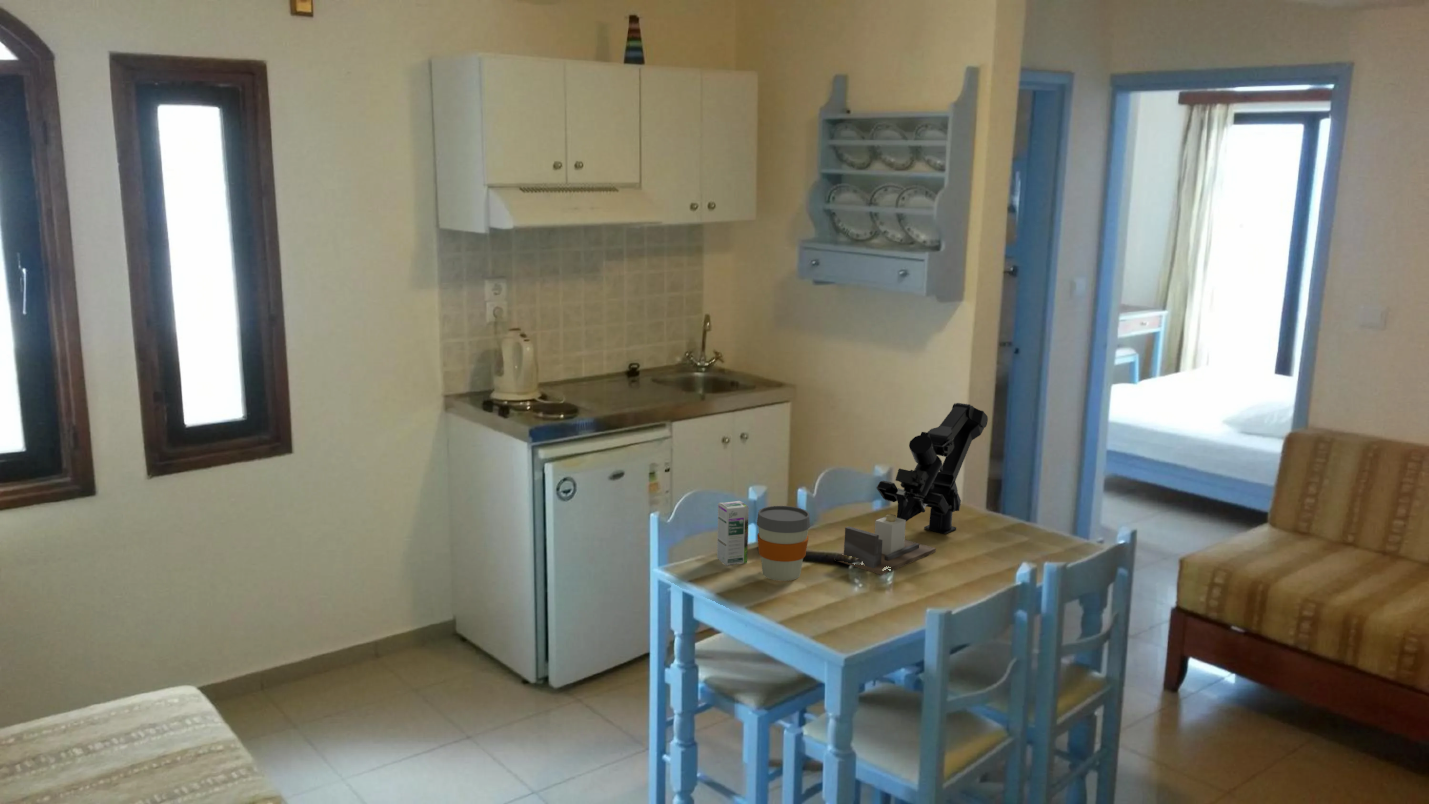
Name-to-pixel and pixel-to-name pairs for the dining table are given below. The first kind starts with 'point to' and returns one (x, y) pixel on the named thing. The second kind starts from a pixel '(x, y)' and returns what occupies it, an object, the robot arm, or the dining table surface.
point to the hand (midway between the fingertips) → (897, 524)
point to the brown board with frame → (880, 551)
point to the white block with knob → (891, 533)
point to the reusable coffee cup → (782, 541)
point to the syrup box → (732, 532)
